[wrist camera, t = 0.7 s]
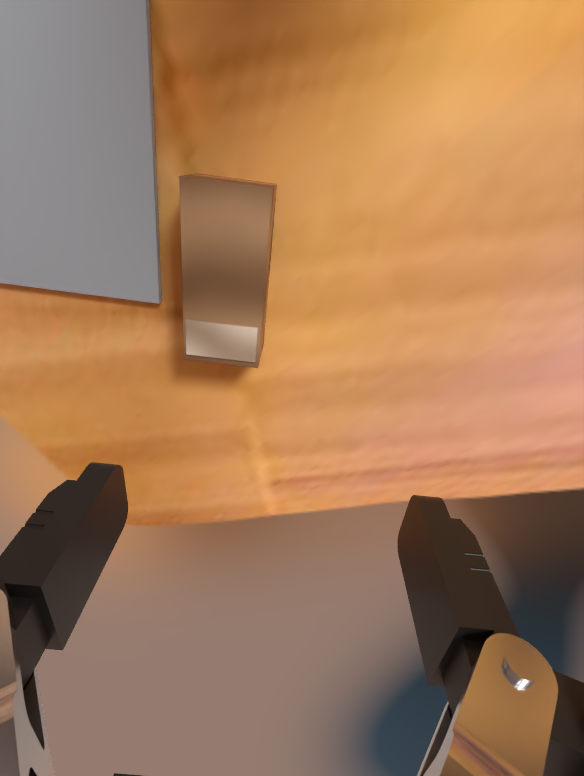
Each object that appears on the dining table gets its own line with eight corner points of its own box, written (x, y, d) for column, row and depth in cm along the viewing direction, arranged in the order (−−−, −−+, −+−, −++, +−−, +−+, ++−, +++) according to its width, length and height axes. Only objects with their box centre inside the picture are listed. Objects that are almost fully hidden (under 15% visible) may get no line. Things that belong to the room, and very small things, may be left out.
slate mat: (-230, -238, 17) (-246, -251, 17) (142, -177, 18) (137, -186, 17) (-65, 271, 28) (-72, 273, 28) (161, 301, 29) (159, 303, 28)
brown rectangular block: (197, 173, 25) (178, 176, 21) (277, 183, 25) (271, 188, 22) (198, 336, 31) (183, 360, 27) (263, 344, 31) (257, 369, 27)
